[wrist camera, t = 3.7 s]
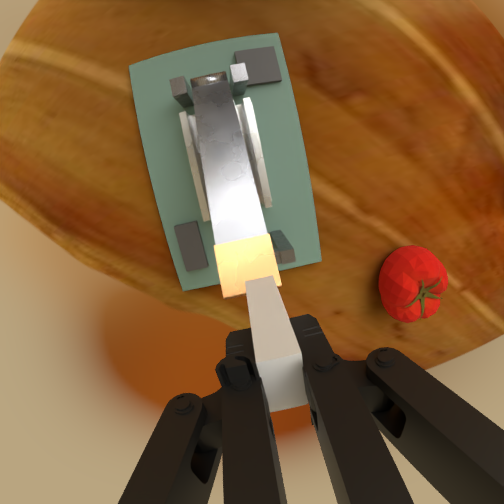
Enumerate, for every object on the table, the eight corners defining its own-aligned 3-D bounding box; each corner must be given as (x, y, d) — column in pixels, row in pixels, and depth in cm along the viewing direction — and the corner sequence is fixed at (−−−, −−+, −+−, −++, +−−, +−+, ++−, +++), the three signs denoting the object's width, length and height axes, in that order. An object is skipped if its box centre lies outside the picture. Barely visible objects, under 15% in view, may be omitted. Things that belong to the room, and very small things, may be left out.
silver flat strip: (191, 87, 21) (188, 76, 20) (227, 79, 21) (225, 67, 20) (226, 300, 16) (222, 297, 15) (280, 288, 16) (282, 284, 15)
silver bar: (176, 94, 24) (163, 79, 18) (250, 78, 25) (256, 58, 18) (213, 255, 30) (210, 280, 24) (282, 240, 30) (295, 261, 24)
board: (132, 68, 24) (126, 63, 22) (276, 36, 24) (279, 29, 22) (184, 286, 33) (181, 294, 31) (318, 257, 33) (323, 263, 31)
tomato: (397, 227, 32) (432, 245, 25) (432, 261, 34) (465, 282, 27) (355, 286, 35) (381, 316, 27) (394, 313, 37) (421, 342, 30)
